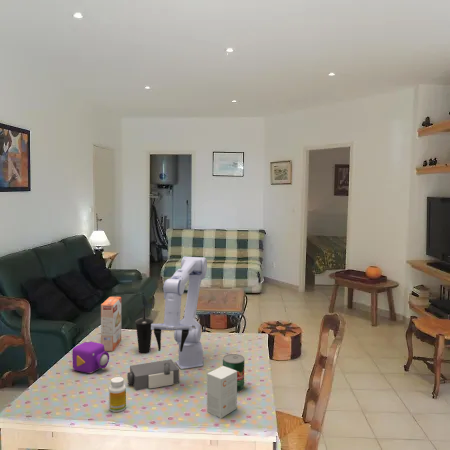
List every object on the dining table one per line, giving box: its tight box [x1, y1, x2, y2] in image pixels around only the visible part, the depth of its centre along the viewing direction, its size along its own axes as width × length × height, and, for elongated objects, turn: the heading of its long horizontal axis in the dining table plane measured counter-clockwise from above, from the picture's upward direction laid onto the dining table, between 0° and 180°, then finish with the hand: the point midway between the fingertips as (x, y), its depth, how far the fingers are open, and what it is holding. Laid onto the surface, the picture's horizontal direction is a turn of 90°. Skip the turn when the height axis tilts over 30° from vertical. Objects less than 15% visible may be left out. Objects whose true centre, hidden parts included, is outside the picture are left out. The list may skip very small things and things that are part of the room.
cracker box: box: [100, 296, 122, 352], centre depth 195 cm, size 14×6×21 cm, turn 179°
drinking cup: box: [134, 306, 154, 355], centre depth 189 cm, size 8×8×20 cm
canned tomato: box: [222, 353, 246, 393], centre depth 157 cm, size 8×8×11 cm
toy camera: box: [71, 339, 110, 374], centre depth 171 cm, size 11×14×10 cm
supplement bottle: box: [108, 376, 127, 413], centre depth 142 cm, size 5×5×10 cm
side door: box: [147, 363, 174, 389], centre depth 156 cm, size 9×2×8 cm, turn 114°
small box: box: [206, 365, 238, 419], centre depth 141 cm, size 8×6×13 cm
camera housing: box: [126, 359, 180, 391], centre depth 162 cm, size 18×10×5 cm, turn 113°
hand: (170, 350), depth 156 cm, fingers open, 7 cm apart
